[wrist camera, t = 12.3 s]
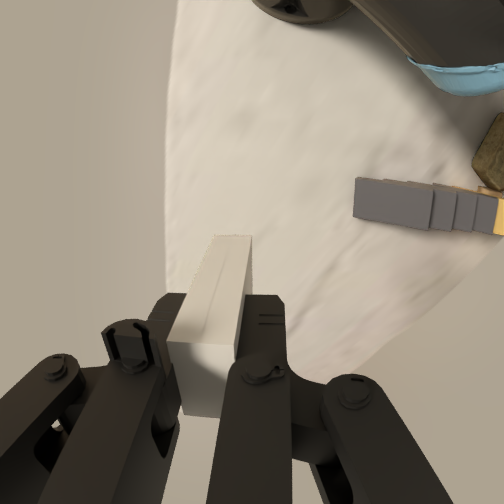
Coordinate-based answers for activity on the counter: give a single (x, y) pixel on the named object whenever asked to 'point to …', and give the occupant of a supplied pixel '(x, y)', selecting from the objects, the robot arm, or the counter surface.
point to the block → (489, 191)
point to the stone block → (492, 156)
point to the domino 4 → (482, 211)
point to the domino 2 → (439, 207)
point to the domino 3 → (461, 208)
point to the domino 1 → (392, 203)
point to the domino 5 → (500, 227)
